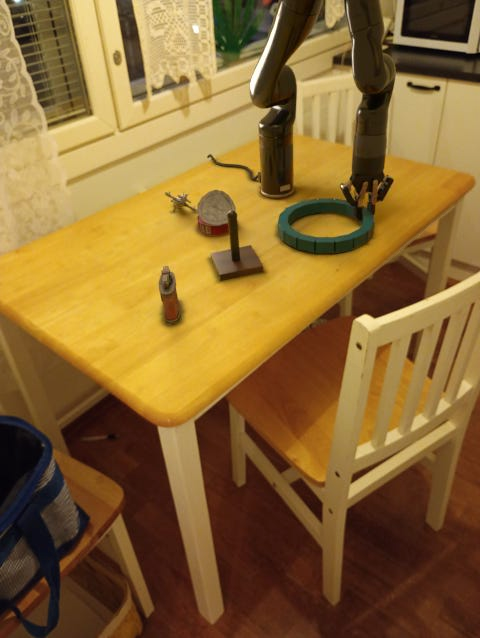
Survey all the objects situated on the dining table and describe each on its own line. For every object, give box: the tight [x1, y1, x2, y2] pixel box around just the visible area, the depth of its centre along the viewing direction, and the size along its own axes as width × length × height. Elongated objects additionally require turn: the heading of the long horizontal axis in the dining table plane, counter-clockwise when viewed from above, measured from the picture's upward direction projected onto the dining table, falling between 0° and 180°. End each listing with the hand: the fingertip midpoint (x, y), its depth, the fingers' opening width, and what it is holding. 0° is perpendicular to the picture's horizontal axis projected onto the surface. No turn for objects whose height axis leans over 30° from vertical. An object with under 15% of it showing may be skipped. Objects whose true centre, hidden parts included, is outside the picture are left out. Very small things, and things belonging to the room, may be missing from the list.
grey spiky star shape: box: [165, 190, 197, 213], centre depth 144 cm, size 10×6×9 cm
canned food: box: [196, 189, 237, 237], centre depth 135 cm, size 11×10×10 cm
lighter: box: [158, 265, 182, 325], centre depth 105 cm, size 8×3×10 cm, turn 5°
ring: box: [277, 197, 375, 254], centre depth 130 cm, size 23×23×3 cm
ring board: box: [209, 210, 264, 282], centre depth 117 cm, size 10×10×14 cm
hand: (363, 217), depth 132 cm, fingers closed on ring, 2 cm apart
